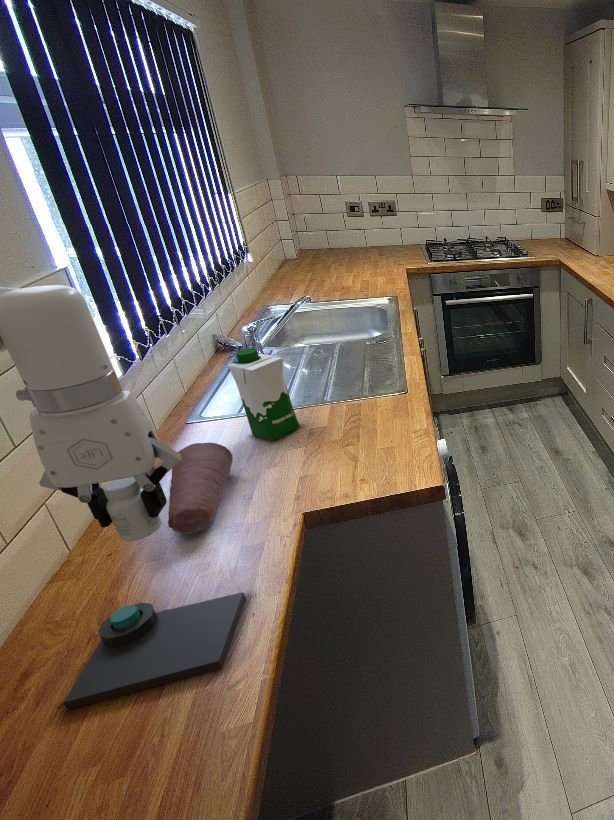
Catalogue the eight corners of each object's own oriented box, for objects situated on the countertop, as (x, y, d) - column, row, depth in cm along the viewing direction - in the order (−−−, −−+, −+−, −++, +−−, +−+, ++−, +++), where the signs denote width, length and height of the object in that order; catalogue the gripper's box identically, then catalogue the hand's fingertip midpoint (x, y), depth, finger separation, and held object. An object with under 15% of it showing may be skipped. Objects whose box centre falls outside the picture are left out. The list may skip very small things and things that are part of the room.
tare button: (110, 633, 70) (105, 624, 69) (119, 616, 72) (115, 608, 71) (135, 626, 70) (131, 618, 70) (144, 610, 73) (140, 602, 72)
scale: (67, 710, 63) (57, 693, 62) (118, 625, 74) (109, 609, 73) (222, 668, 68) (215, 652, 66) (247, 594, 79) (241, 579, 77)
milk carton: (279, 419, 129) (257, 343, 121) (306, 425, 126) (285, 348, 118) (246, 436, 122) (219, 357, 114) (273, 444, 119) (248, 362, 111)
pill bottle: (159, 515, 73) (139, 469, 70) (165, 530, 70) (144, 482, 67) (118, 531, 70) (95, 483, 67) (122, 547, 67) (99, 498, 64)
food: (182, 485, 104) (166, 447, 101) (238, 470, 109) (225, 433, 106) (171, 548, 88) (152, 505, 84) (237, 527, 92) (222, 485, 89)
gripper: (-39, 418, 56) (37, 551, 63) (151, 392, 61) (201, 518, 69) (5, 390, 63) (69, 513, 70) (174, 369, 68) (217, 486, 75)
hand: (134, 514), depth 69 cm, fingers closed on pill bottle, 4 cm apart
